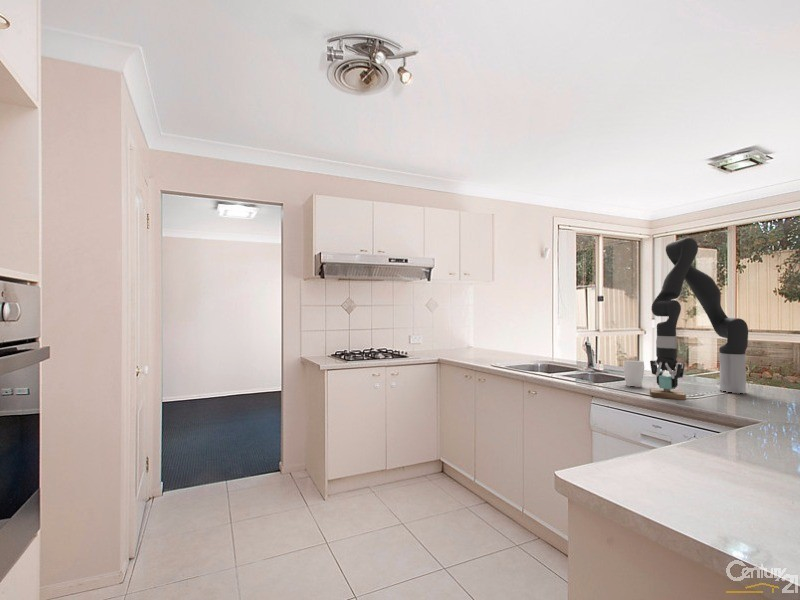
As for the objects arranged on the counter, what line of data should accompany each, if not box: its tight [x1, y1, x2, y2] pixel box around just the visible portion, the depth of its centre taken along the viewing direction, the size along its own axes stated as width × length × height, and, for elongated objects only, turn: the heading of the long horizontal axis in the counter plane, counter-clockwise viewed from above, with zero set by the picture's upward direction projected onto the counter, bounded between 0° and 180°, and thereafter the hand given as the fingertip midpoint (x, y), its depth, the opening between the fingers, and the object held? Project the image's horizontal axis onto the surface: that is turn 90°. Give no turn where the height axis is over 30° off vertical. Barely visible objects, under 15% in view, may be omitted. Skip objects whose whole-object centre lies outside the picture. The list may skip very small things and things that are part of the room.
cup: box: [622, 359, 645, 388], centre depth 202 cm, size 9×9×12 cm
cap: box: [658, 374, 676, 390], centre depth 177 cm, size 6×6×5 cm
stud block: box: [649, 387, 687, 401], centre depth 177 cm, size 12×12×6 cm
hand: (667, 386), depth 177 cm, fingers closed on cap, 5 cm apart
